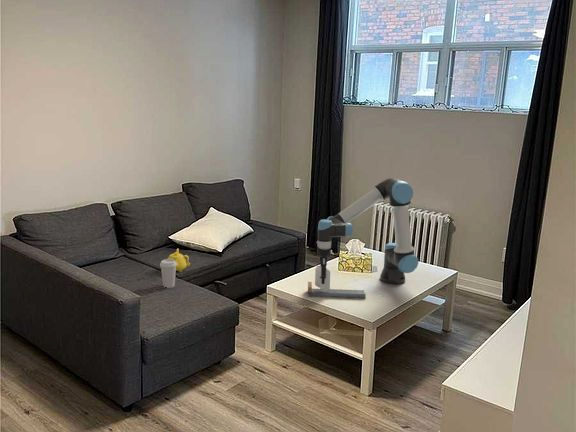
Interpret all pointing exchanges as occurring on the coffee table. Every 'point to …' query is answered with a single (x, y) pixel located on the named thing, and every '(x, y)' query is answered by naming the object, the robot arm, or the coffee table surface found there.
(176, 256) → the teapot
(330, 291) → the rail
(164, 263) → the coffee cup
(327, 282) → the photo printer
